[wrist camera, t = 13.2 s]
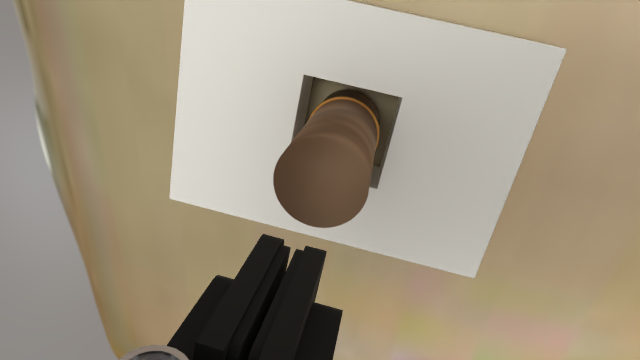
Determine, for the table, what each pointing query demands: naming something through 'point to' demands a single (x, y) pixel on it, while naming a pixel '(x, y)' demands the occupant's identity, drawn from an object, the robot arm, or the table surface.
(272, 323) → the robot arm
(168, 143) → the table surface
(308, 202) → the peg
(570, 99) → the table surface
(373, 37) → the board
